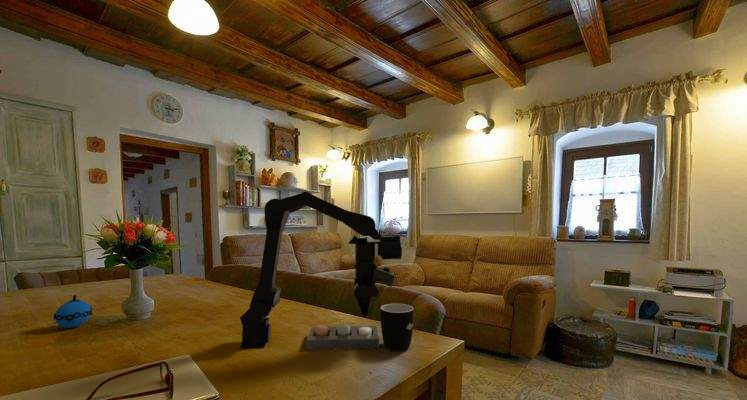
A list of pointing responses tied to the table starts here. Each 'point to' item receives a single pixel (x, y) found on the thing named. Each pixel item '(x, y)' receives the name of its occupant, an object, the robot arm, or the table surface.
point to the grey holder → (343, 339)
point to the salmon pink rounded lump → (321, 330)
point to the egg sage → (343, 329)
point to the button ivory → (365, 331)
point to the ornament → (72, 313)
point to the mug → (397, 326)
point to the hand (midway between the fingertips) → (365, 315)
